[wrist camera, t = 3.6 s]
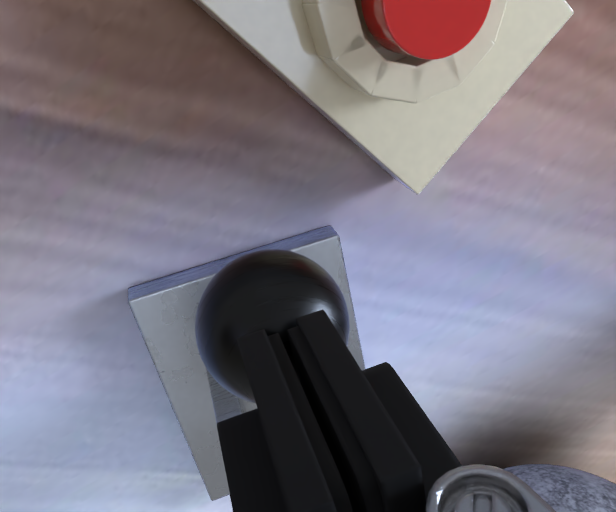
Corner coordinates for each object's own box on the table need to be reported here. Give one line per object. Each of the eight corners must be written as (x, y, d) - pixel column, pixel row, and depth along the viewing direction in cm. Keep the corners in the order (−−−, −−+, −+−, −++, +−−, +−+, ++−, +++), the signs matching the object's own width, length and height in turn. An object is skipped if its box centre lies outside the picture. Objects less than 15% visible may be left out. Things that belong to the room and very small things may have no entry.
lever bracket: (127, 287, 23) (123, 520, 13) (330, 224, 25) (473, 388, 14) (208, 483, 29) (251, 756, 18) (370, 422, 30) (494, 644, 20)
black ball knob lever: (165, 246, 12) (187, 353, 9) (310, 202, 12) (367, 292, 10) (276, 535, 20) (304, 632, 17) (360, 501, 20) (399, 591, 18)
